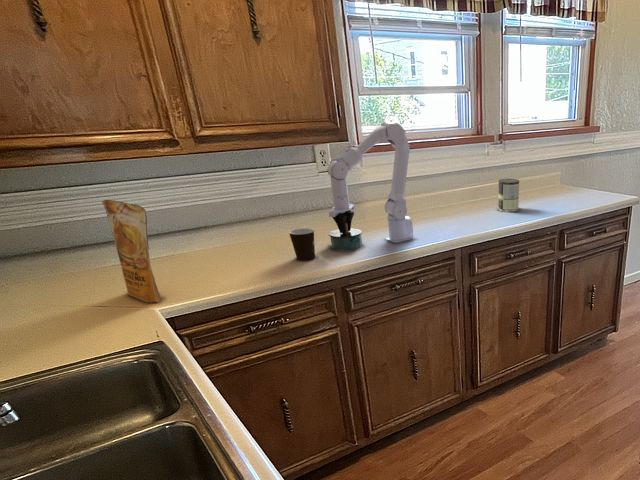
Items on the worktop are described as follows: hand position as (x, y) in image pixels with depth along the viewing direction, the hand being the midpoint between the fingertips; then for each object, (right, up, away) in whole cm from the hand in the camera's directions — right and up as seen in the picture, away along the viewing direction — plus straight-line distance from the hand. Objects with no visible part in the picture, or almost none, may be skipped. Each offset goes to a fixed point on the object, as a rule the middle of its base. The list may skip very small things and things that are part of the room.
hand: (345, 231), depth 200 cm
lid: (0, -1, 0) cm, 1 cm away
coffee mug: (-12, -11, -8) cm, 18 cm away
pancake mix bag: (-50, -30, -42) cm, 72 cm away
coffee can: (+67, +26, +60) cm, 94 cm away
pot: (0, -5, +3) cm, 6 cm away
